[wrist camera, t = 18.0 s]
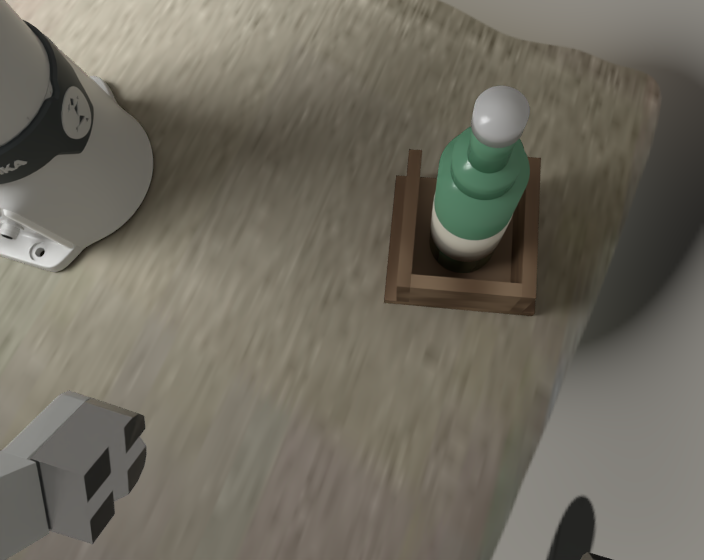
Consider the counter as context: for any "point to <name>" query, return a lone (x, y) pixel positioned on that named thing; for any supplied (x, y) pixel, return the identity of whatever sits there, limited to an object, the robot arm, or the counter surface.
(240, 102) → the counter surface
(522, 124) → the green bottle
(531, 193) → the bottle stand
